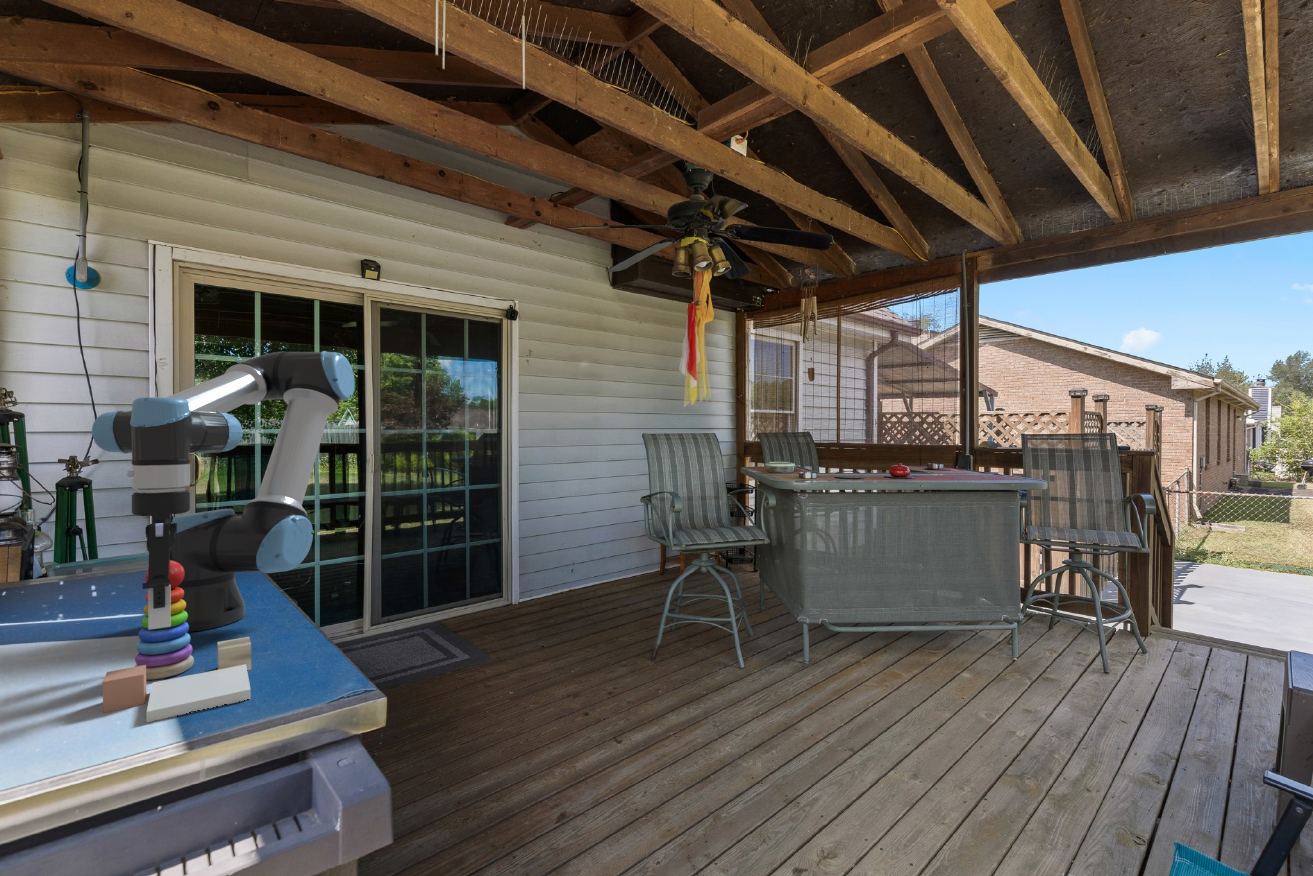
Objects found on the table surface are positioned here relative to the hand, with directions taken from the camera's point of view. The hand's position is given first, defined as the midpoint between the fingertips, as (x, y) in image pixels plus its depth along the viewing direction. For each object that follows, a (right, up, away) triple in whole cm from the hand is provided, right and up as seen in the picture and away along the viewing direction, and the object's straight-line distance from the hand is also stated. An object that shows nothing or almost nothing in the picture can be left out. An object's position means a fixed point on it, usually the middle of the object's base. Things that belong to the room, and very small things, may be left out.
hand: (162, 617), depth 101 cm
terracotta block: (+3, -10, -11) cm, 15 cm away
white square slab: (+13, -9, -9) cm, 18 cm away
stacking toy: (0, -10, 0) cm, 10 cm away
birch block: (+11, -9, +2) cm, 14 cm away
